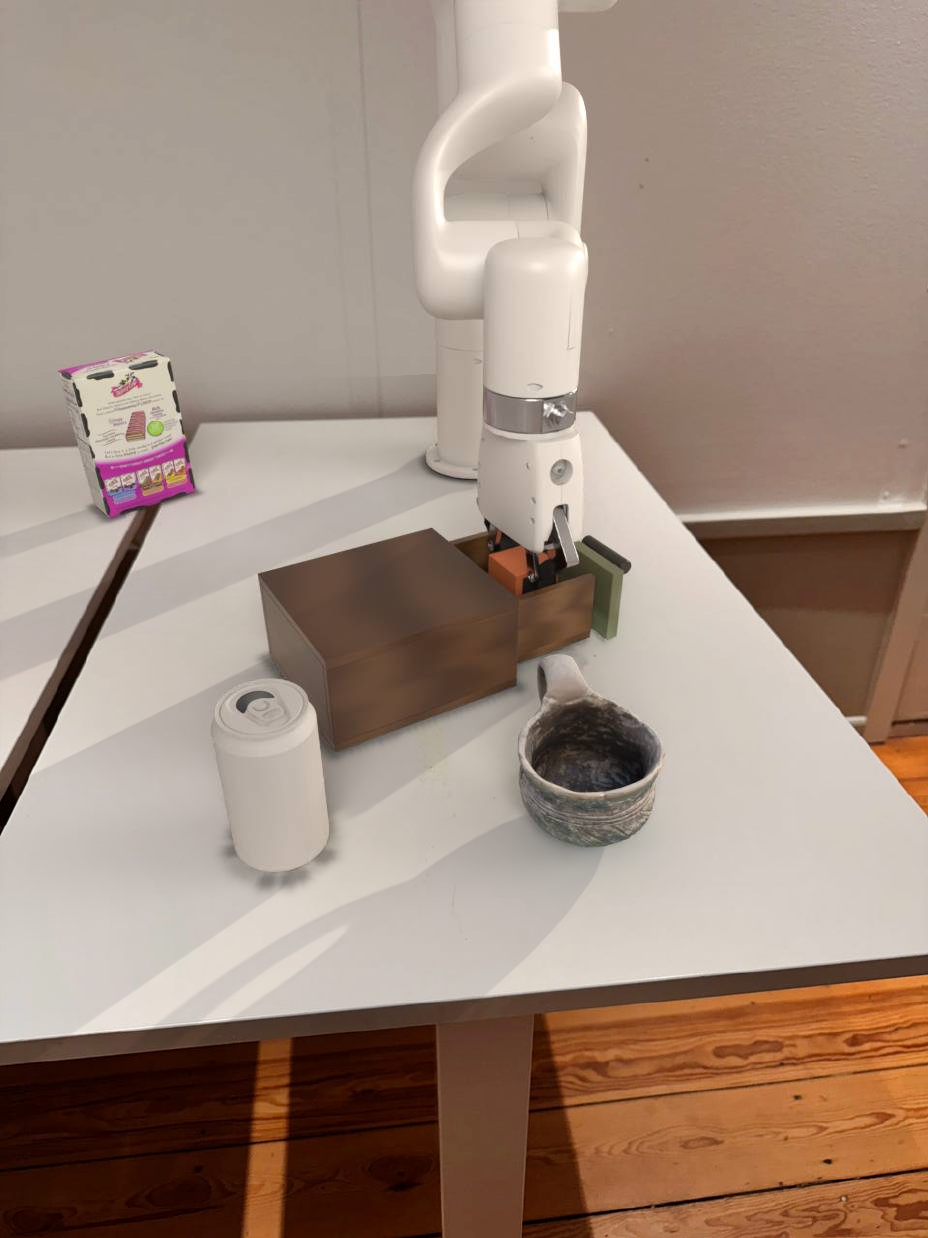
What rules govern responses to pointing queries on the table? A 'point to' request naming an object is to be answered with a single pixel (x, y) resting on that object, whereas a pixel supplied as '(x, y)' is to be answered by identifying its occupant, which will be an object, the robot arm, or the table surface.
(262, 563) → the table surface
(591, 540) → the drawer
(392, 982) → the table surface
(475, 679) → the cabinet
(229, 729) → the beverage can
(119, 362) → the candy bar box
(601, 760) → the mug
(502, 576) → the block
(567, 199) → the robot arm
